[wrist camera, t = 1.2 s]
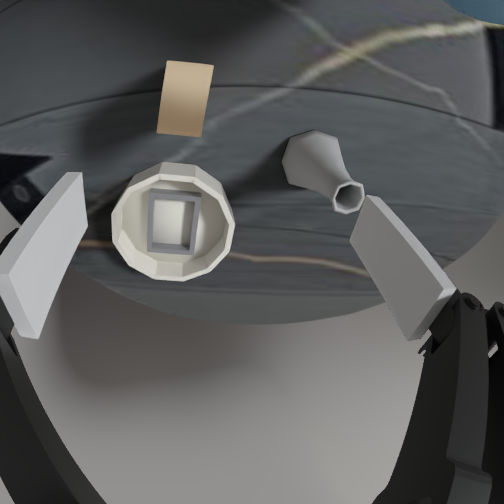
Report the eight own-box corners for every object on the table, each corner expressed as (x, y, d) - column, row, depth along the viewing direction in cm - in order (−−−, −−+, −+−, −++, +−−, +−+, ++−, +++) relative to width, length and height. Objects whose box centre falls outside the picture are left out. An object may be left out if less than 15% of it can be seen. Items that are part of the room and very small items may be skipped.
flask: (279, 189, 35) (305, 237, 27) (281, 129, 30) (312, 158, 22) (337, 187, 35) (376, 230, 27) (343, 129, 31) (390, 159, 23)
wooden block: (179, 61, 24) (167, 60, 16) (210, 64, 25) (214, 65, 16) (171, 108, 27) (156, 133, 18) (201, 111, 28) (200, 137, 19)
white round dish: (119, 158, 29) (111, 170, 26) (239, 170, 32) (243, 182, 30) (120, 258, 36) (115, 275, 34) (220, 266, 40) (223, 283, 37)
